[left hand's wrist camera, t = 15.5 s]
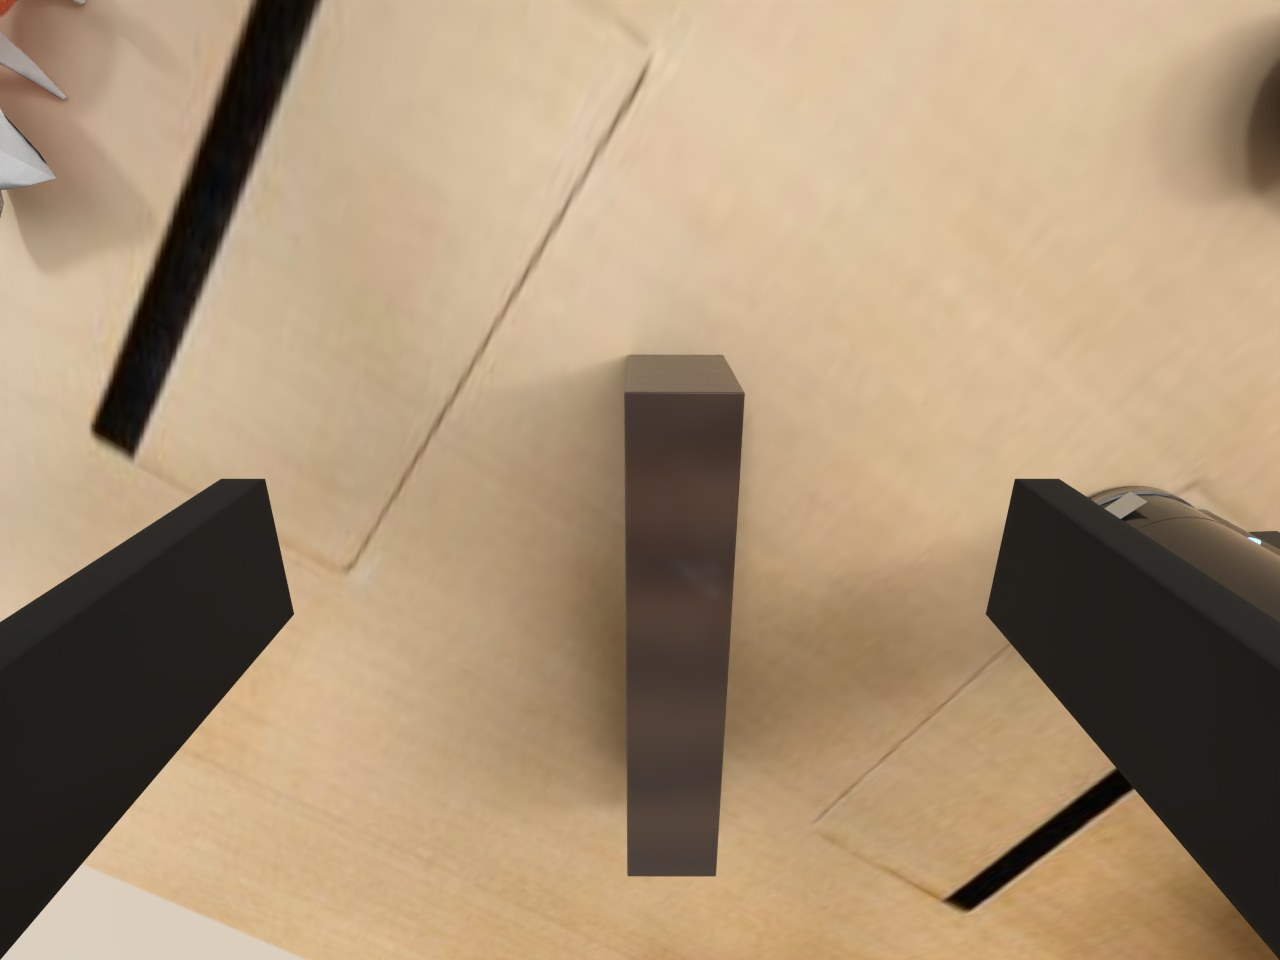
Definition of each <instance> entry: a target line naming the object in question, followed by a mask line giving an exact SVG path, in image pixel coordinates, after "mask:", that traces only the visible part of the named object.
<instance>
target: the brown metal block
mask: <svg viewBox="0 0 1280 960" xmlns="http://www.w3.org/2000/svg"><path fill="white" fill-rule="evenodd" d="M744 396H745V393H744V391H743V389H742V388H741V386H740V384H739V382H738V381H737V379H736V377H735V375H734V373H733V372H732V370H731V368H730V366H729V365H728V363H727V361H726V359H725V358H724V356H723V355H628V356H627V368H626V380H625V393H624V399H625V562H626V726H627V875H628V876H716V865H717V849H718V832H719V815H720V798H721V782H722V765H723V748H724V731H725V714H726V698H727V681H728V664H729V647H730V631H731V614H732V597H733V580H734V564H735V547H736V530H737V513H738V496H739V480H740V463H741V446H742V429H743V413H744Z"/></svg>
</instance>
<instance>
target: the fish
mask: <svg viewBox="0 0 1280 960" xmlns="http://www.w3.org/2000/svg"><path fill="white" fill-rule="evenodd" d="M72 1H74V2H77V3H79V4H84V2H85V0H72ZM16 2H17V0H0V18H1V17H2V16H3V15H4V14H6V13H7V12H8V11H9V10H10V9H11V8H12V7H13V6H14V4H15V3H16ZM0 64H2V65H4V66H5V67H7V68H9V69H11V70H13V71H15V72H17V73H18V74H20V75H22V76H24V77H26V78H28V79H29V80H31V81H33V82H35V83H36V84H38V85H40V86H41V87H43V88H45V89H46V90H48V91H50V92H51V93H53V94H55V95H56V96H58V97H60V98H61V99H65V98H66V96H65V95H64V94H63V93H62V92H61V91H60V90H59V88H58V87H57V86H56V85H55V84H54V83H53V82H52V81H51V80H50V79H49V78H48V76H47V75H46V74H45V73H44V72H43V71H42V70H41V69H40V68H39V67H38V66H37V65H36V64H35V63H34V62H33V61H32V60H31V59H30V58H29V57H28V56H27V55H26V54H25V53H23V52H22V51H21V50H20V49H19V48H18V47H17V46H15V45H14V44H13V43H12V42H11V41H10V40H9V39H8V38H7V37H6V36H5V35H4V34H3V33H2V32H1V31H0ZM52 179H56V177H55V175H54V174H53V172H52V171H51V169H50V168H49V166H48V165H47V163H46V162H45V160H44V159H43V158H42V156H41V155H40V153H39V152H38V151H37V150H36V149H35V148H34V147H33V145H32V144H31V143H30V142H29V141H28V140H27V139H26V138H25V137H24V136H23V135H22V134H21V133H20V131H19V130H18V129H17V128H16V127H15V126H14V125H13V124H12V123H11V122H10V121H9V120H8V119H7V117H6V116H5V115H4V113H3V112H2V110H1V109H0V217H1V212H2V208H3V204H4V202H3V198H2V194H1V190H4V189H11V188H18V187H24V186H28V185H32V184H36V183H40V182H44V181H48V180H52Z"/></svg>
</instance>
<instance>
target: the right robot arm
mask: <svg viewBox="0 0 1280 960" xmlns="http://www.w3.org/2000/svg"><path fill="white" fill-rule="evenodd" d="M1090 499H1091V500H1092V501H1094V502H1095V503H1097V504H1098V505H1100V506H1101V507H1103V508H1104V509H1106V510H1107V511H1109V512H1111V513H1112V514H1114V515H1115V516H1117V517H1118V518H1120V519H1121V520H1123V521H1124V522H1126V523H1127V524H1129V525H1131V526H1132V527H1134V528H1135V529H1137V530H1138V531H1140V532H1141V533H1143V534H1144V535H1146V536H1148V537H1149V538H1151V539H1152V540H1154V541H1155V542H1157V543H1158V544H1160V545H1161V546H1163V547H1164V548H1166V549H1168V550H1169V551H1171V552H1172V553H1174V554H1175V555H1177V556H1178V557H1180V558H1181V559H1183V560H1185V561H1186V562H1188V563H1189V564H1191V565H1192V566H1194V567H1195V568H1197V569H1198V570H1200V571H1201V572H1203V573H1205V574H1206V575H1208V576H1209V577H1211V578H1212V579H1214V580H1215V581H1217V582H1218V583H1220V584H1222V585H1223V586H1225V587H1226V588H1228V589H1229V590H1231V591H1232V592H1234V593H1235V594H1237V595H1238V596H1240V597H1242V598H1243V599H1245V600H1246V601H1248V602H1249V603H1251V604H1252V605H1254V606H1255V607H1257V608H1259V609H1260V610H1262V611H1263V612H1265V613H1266V614H1268V615H1269V616H1271V617H1272V618H1274V619H1275V620H1277V621H1279V622H1280V532H1278V531H1266V532H1247V531H1245V530H1243V529H1241V528H1239V527H1237V526H1235V525H1233V524H1232V523H1230V522H1228V521H1226V520H1224V519H1222V518H1220V517H1218V516H1217V515H1215V514H1213V513H1211V512H1209V511H1207V510H1196V509H1195V508H1194V507H1193V506H1191V505H1190V504H1189V503H1187V502H1186V501H1184V500H1182V499H1180V498H1178V497H1177V496H1175V495H1173V494H1171V493H1169V492H1166V491H1163V490H1160V489H1156V488H1151V487H1125V488H1118V489H1114V490H1110V491H1107V492H1104V493H1101V494H1099V495H1096V496H1094V497H1092V498H1090Z"/></svg>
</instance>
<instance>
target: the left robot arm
mask: <svg viewBox="0 0 1280 960" xmlns="http://www.w3.org/2000/svg"><path fill="white" fill-rule="evenodd" d="M293 615H294V612H293V607H292V602H291V598H290V593H289V589H288V584H287V579H286V575H285V570H284V565H283V561H282V556H281V551H280V547H279V542H278V537H277V533H276V528H275V523H274V519H273V514H272V509H271V505H270V500H269V495H268V491H267V486H266V482H265V479H220V480H219V481H217V482H216V483H214V484H213V485H211V486H210V487H208V488H206V489H205V490H203V491H202V492H200V493H199V494H197V495H196V496H194V497H193V498H191V499H189V500H188V501H186V502H185V503H183V504H182V505H180V506H179V507H177V508H176V509H174V510H173V511H171V512H169V513H168V514H166V515H165V516H163V517H162V518H160V519H159V520H157V521H156V522H154V523H152V524H151V525H149V526H148V527H146V528H145V529H143V530H142V531H140V532H139V533H137V534H136V535H134V536H132V537H131V538H129V539H128V540H126V541H125V542H123V543H122V544H120V545H119V546H117V547H116V548H114V549H112V550H111V551H109V552H108V553H106V554H105V555H103V556H102V557H100V558H99V559H97V560H95V561H94V562H92V563H91V564H89V565H88V566H86V567H85V568H83V569H82V570H80V571H79V572H77V573H75V574H74V575H72V576H71V577H69V578H68V579H66V580H65V581H63V582H62V583H60V584H58V585H57V586H55V587H54V588H52V589H51V590H49V591H48V592H46V593H45V594H43V595H42V596H40V597H38V598H37V599H35V600H34V601H32V602H31V603H29V604H28V605H26V606H25V607H23V608H21V609H20V610H18V611H17V612H15V613H14V614H12V615H11V616H9V617H8V618H6V619H5V620H3V621H1V622H0V959H1V958H2V957H3V956H4V955H5V954H6V952H7V951H8V950H9V949H10V948H11V947H12V945H13V944H14V943H15V942H16V941H17V939H18V938H19V937H20V936H21V935H22V934H23V932H24V931H25V930H26V929H27V928H28V927H29V925H30V924H31V923H32V922H33V921H34V919H35V918H36V917H37V916H38V915H39V914H40V912H41V911H42V910H43V909H44V908H45V906H46V905H47V904H48V903H49V902H50V901H51V899H52V898H53V897H54V896H55V895H56V894H57V892H58V891H59V890H60V889H61V888H62V887H63V885H64V884H65V883H66V882H67V881H68V879H69V878H70V877H71V876H72V875H73V874H74V872H75V871H76V870H77V869H78V868H79V866H80V865H81V864H82V863H83V862H84V861H85V859H86V858H87V857H88V856H89V855H90V854H91V852H92V851H93V850H94V849H95V848H96V847H97V845H98V844H99V843H100V842H101V841H102V839H103V838H104V837H105V836H106V835H107V834H108V832H109V831H110V830H111V829H112V828H113V827H114V825H115V824H116V823H117V822H118V821H119V819H120V818H121V817H122V816H123V815H124V814H125V812H126V811H127V810H128V809H129V808H130V807H131V805H132V804H133V803H134V802H135V801H136V799H137V798H138V797H139V796H140V795H141V794H142V792H143V791H144V790H145V789H146V788H147V787H148V785H149V784H150V783H151V782H152V781H153V779H154V778H155V777H156V776H157V775H158V774H159V772H160V771H161V770H162V769H163V768H164V767H165V765H166V764H167V763H168V762H169V761H170V759H171V758H172V757H173V756H174V755H175V754H176V752H177V751H178V750H179V749H180V748H181V747H182V745H183V744H184V743H185V742H186V741H187V739H188V738H189V737H190V736H191V735H192V734H193V732H194V731H195V730H196V729H197V728H198V727H199V725H200V724H201V723H202V722H203V721H204V719H205V718H206V717H207V716H208V715H209V714H210V712H211V711H212V710H213V709H214V708H215V707H216V705H217V704H218V703H219V702H220V701H221V699H222V698H223V697H224V696H225V695H226V694H227V692H228V691H229V690H230V689H231V688H232V687H233V685H234V684H235V683H236V682H237V681H238V679H239V678H240V677H241V676H242V675H243V674H244V672H245V671H246V670H247V669H248V668H249V667H250V665H251V664H252V663H253V662H254V661H255V659H256V658H257V657H258V656H259V655H260V654H261V652H262V651H263V650H264V649H265V648H266V647H267V645H268V644H269V643H270V642H271V641H272V640H273V638H274V637H275V636H276V635H277V634H278V632H279V631H280V630H281V629H282V628H283V627H284V625H285V624H286V623H287V622H288V621H289V620H290V618H291V617H292V616H293ZM986 615H987V616H988V617H989V618H990V620H991V621H992V622H993V623H994V624H995V625H996V627H997V628H998V629H999V630H1000V631H1001V632H1002V634H1003V635H1004V636H1005V637H1006V638H1007V640H1008V641H1009V642H1010V643H1011V644H1012V645H1013V647H1014V648H1015V649H1016V650H1017V651H1018V652H1019V654H1020V655H1021V656H1022V657H1023V658H1024V660H1025V661H1026V662H1027V663H1028V664H1029V665H1030V667H1031V668H1032V669H1033V670H1034V671H1035V672H1036V674H1037V675H1038V676H1039V677H1040V678H1041V679H1042V681H1043V682H1044V683H1045V684H1046V685H1047V687H1048V688H1049V689H1050V690H1051V691H1052V692H1053V694H1054V695H1055V696H1056V697H1057V698H1058V699H1059V701H1060V702H1061V703H1062V704H1063V705H1064V707H1065V708H1066V709H1067V710H1068V711H1069V712H1070V714H1071V715H1072V716H1073V717H1074V718H1075V719H1076V721H1077V722H1078V723H1079V724H1080V725H1081V727H1082V728H1083V729H1084V730H1085V731H1086V732H1087V734H1088V735H1089V736H1090V737H1091V738H1092V739H1093V741H1094V742H1095V743H1096V744H1097V745H1098V747H1099V748H1100V749H1101V750H1102V751H1103V752H1104V754H1105V755H1106V756H1107V757H1108V758H1109V759H1110V761H1111V762H1112V763H1113V764H1114V765H1115V767H1116V768H1117V769H1118V770H1119V771H1120V772H1121V774H1122V775H1123V776H1124V777H1125V778H1126V779H1127V781H1128V782H1129V783H1130V784H1131V785H1132V787H1133V788H1134V789H1135V790H1136V791H1137V792H1138V794H1139V795H1140V796H1141V797H1142V798H1143V799H1144V801H1145V802H1146V803H1147V804H1148V805H1149V807H1150V808H1151V809H1152V810H1153V811H1154V812H1155V814H1156V815H1157V816H1158V817H1159V818H1160V819H1161V821H1162V822H1163V823H1164V824H1165V825H1166V827H1167V828H1168V829H1169V830H1170V831H1171V832H1172V834H1173V835H1174V836H1175V837H1176V838H1177V839H1178V841H1179V842H1180V843H1181V844H1182V845H1183V847H1184V848H1185V849H1186V850H1187V851H1188V852H1189V854H1190V855H1191V856H1192V857H1193V858H1194V859H1195V861H1196V862H1197V863H1198V864H1199V865H1200V867H1201V868H1202V869H1203V870H1204V871H1205V872H1206V874H1207V875H1208V876H1209V877H1210V878H1211V879H1212V881H1213V882H1214V883H1215V884H1216V885H1217V887H1218V888H1219V889H1220V890H1221V891H1222V892H1223V894H1224V895H1225V896H1226V897H1227V898H1228V899H1229V901H1230V902H1231V903H1232V904H1233V905H1234V907H1235V908H1236V909H1237V910H1238V911H1239V912H1240V914H1241V915H1242V916H1243V917H1244V918H1245V919H1246V921H1247V922H1248V923H1249V924H1250V925H1251V927H1252V928H1253V929H1254V930H1255V931H1256V932H1257V934H1258V935H1259V936H1260V937H1261V938H1262V939H1263V941H1264V942H1265V943H1266V944H1267V945H1268V947H1269V948H1270V949H1271V950H1272V951H1273V952H1274V954H1275V955H1276V956H1277V957H1278V958H1279V959H1280V622H1279V621H1277V620H1275V619H1274V618H1272V617H1271V616H1269V615H1268V614H1266V613H1265V612H1263V611H1262V610H1260V609H1259V608H1257V607H1255V606H1254V605H1252V604H1251V603H1249V602H1248V601H1246V600H1245V599H1243V598H1242V597H1240V596H1238V595H1237V594H1235V593H1234V592H1232V591H1231V590H1229V589H1228V588H1226V587H1225V586H1223V585H1222V584H1220V583H1218V582H1217V581H1215V580H1214V579H1212V578H1211V577H1209V576H1208V575H1206V574H1205V573H1203V572H1201V571H1200V570H1198V569H1197V568H1195V567H1194V566H1192V565H1191V564H1189V563H1188V562H1186V561H1185V560H1183V559H1181V558H1180V557H1178V556H1177V555H1175V554H1174V553H1172V552H1171V551H1169V550H1168V549H1166V548H1164V547H1163V546H1161V545H1160V544H1158V543H1157V542H1155V541H1154V540H1152V539H1151V538H1149V537H1148V536H1146V535H1144V534H1143V533H1141V532H1140V531H1138V530H1137V529H1135V528H1134V527H1132V526H1131V525H1129V524H1127V523H1126V522H1124V521H1123V520H1121V519H1120V518H1118V517H1117V516H1115V515H1114V514H1112V513H1111V512H1109V511H1107V510H1106V509H1104V508H1103V507H1101V506H1100V505H1098V504H1097V503H1095V502H1094V501H1092V500H1091V499H1089V498H1087V497H1086V496H1084V495H1083V494H1081V493H1080V492H1078V491H1077V490H1075V489H1074V488H1072V487H1070V486H1069V485H1067V484H1066V483H1064V482H1063V481H1061V480H1060V479H1015V482H1014V486H1013V491H1012V495H1011V500H1010V505H1009V509H1008V514H1007V519H1006V523H1005V528H1004V533H1003V537H1002V542H1001V547H1000V551H999V556H998V561H997V565H996V570H995V575H994V579H993V584H992V589H991V593H990V598H989V602H988V607H987V612H986Z"/></svg>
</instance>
